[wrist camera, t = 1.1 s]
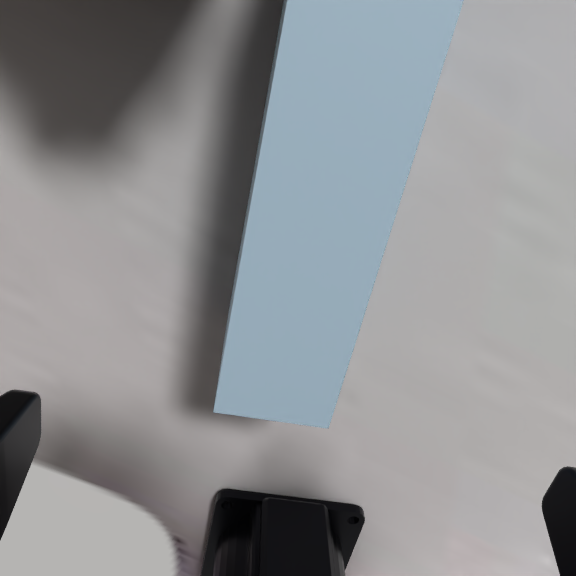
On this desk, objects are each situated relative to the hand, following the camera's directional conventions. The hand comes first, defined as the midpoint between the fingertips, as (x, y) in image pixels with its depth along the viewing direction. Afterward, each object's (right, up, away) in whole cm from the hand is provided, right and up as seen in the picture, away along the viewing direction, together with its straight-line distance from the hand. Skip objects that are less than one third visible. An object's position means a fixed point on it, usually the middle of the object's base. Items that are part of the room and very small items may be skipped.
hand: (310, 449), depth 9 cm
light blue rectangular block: (0, +7, +7) cm, 10 cm away
